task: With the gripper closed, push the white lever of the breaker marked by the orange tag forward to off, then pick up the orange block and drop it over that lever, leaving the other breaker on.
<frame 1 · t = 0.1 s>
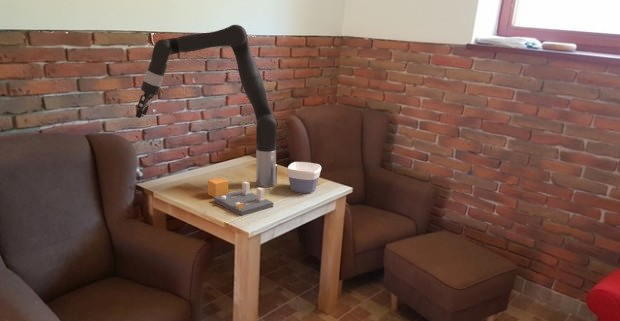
hand: (140, 115, 207), 31 cm above the table, tool tilted 20°, fingers open, 8 cm apart
bowl: (303, 189, 216), on the table
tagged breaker: (260, 205, 193), resting on breaker panel, slide at 0.0 cm
breaker panel: (243, 204, 193), on the table
untagged breaker: (245, 198, 200), resting on breaker panel, slide at 0.0 cm
orange block: (218, 194, 203), on the table
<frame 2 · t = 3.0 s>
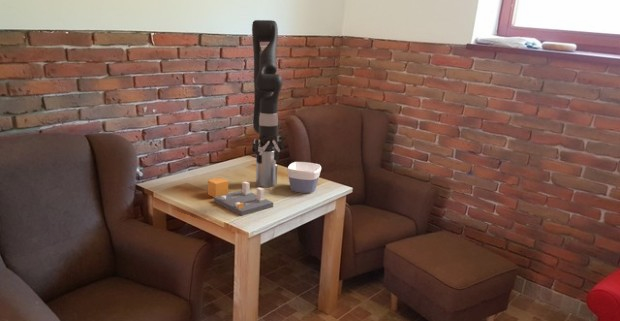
hand: (267, 161, 191), 18 cm above the table, tool pointing down, fingers open, 8 cm apart
nothing on the table moved.
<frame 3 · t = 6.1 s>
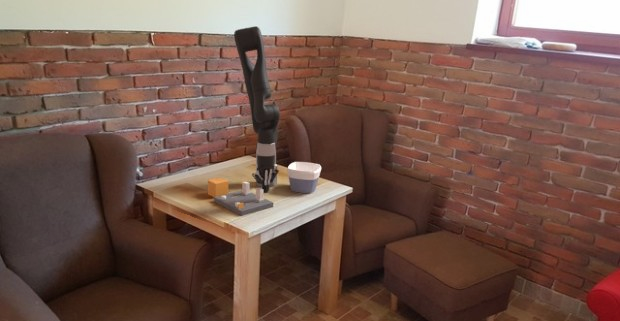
hand: (265, 192, 194), 5 cm above the table, tool pointing down, fingers closed
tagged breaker: (259, 205, 193), resting on breaker panel, slide at 0.3 cm, touching gripper
everything else where it was.
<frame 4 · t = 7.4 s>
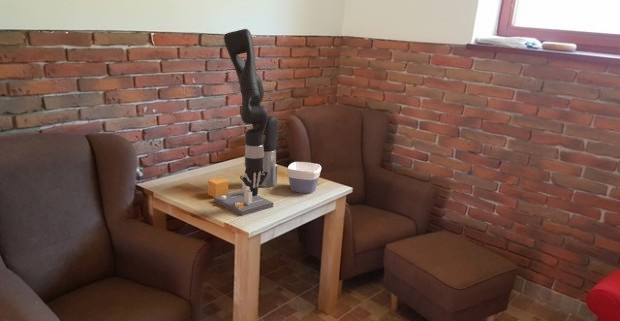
hand: (254, 195, 190), 5 cm above the table, tool pointing down, fingers closed
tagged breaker: (248, 208, 189), resting on breaker panel, slide at 6.2 cm, touching gripper
everything else where it was.
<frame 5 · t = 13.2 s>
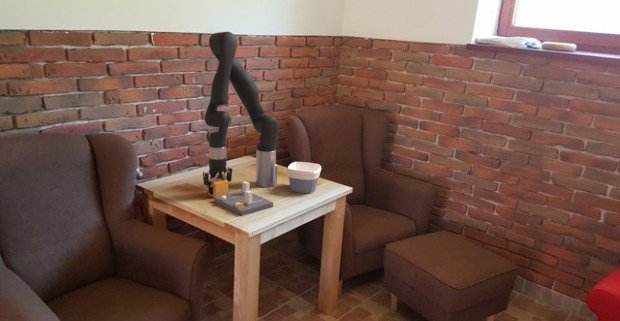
hand: (217, 192, 203), 1 cm above the table, tool pointing down, fingers closed on orange block, 6 cm apart
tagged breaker: (248, 208, 189), resting on breaker panel, slide at 6.1 cm
orange block: (218, 194, 203), on the table, touching gripper
everything else where it was.
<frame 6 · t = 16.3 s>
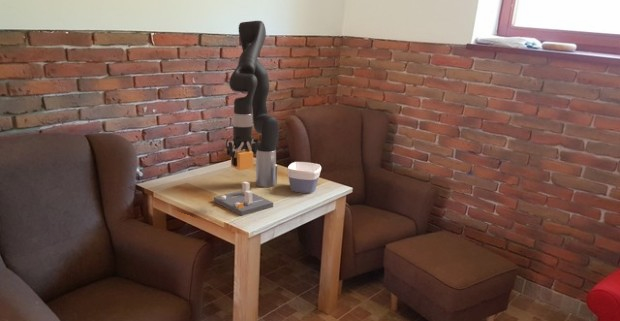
hand: (241, 164, 186), 18 cm above the table, tool pointing down, fingers closed on orange block, 6 cm apart
orange block: (241, 167, 187), point 17 cm above the table, touching gripper
everything else where it was.
when the fingers open (4 cm above the table, at t = 19.7 s): orange block drops 1 cm, resting on breaker panel.
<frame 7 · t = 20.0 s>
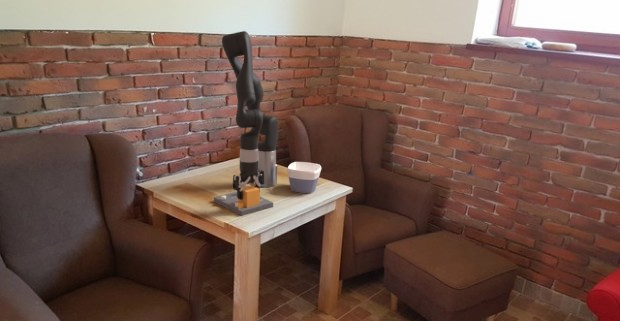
hand: (248, 197, 188), 5 cm above the table, tool pointing down, fingers open, 8 cm apart
orange block: (248, 203, 189), point 2 cm above the table, touching breaker panel
everything else where it was.
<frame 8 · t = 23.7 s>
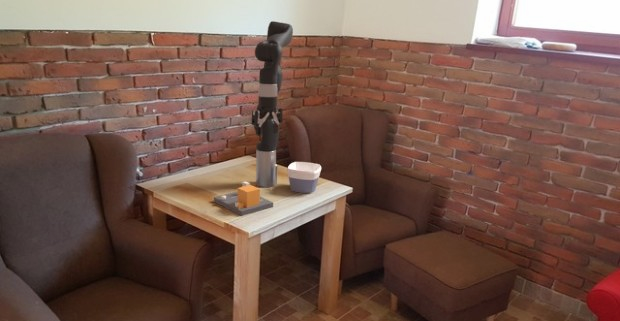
hand: (267, 134, 187), 30 cm above the table, tool pointing down, fingers open, 8 cm apart
nothing on the table moved.
at the end: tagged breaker slide at 6.1 cm; orange block 0.1 cm from the target spot, point 2.0 cm above the table; untagged breaker slide at 0.0 cm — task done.
